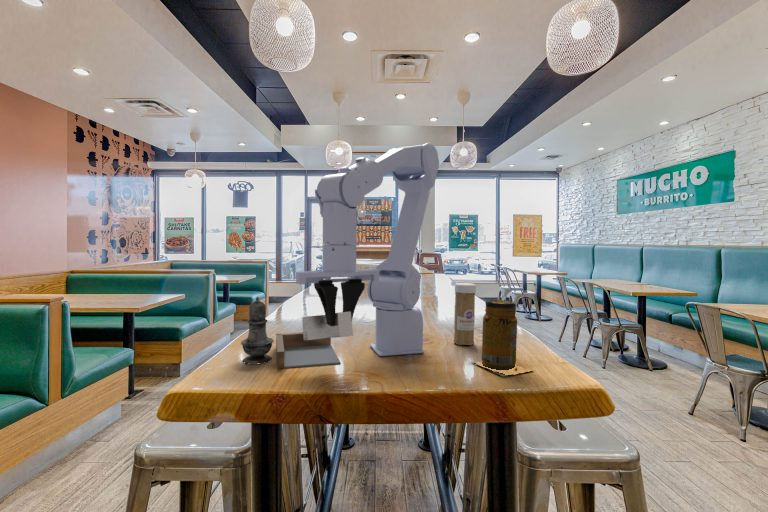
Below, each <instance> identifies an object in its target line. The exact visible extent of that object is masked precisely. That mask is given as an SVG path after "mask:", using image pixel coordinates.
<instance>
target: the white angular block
mask: <svg viewBox="0 0 768 512" xmlns="http://www.w3.org/2000/svg"><path fill="white" fill-rule="evenodd" d="M335 315H336V319H335V326H330V325H328V324H327V321H326V316H325V314H321V315H319V314H318V315H311V316H309V315H308V316H303V317H302V318H301V320H302V322H301V323H302V332H303V338H304V340H314V339H322V338H331V339H333V338H334V339H335V338H346V337H352V336H354V332H353V331H354V330H353V322H352V321H353V318H351V312H343V311H341V312H335Z"/></svg>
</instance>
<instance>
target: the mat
mask: <svg viewBox="0 0 768 512" xmlns="http://www.w3.org/2000/svg"><path fill="white" fill-rule="evenodd" d="M329 365H341V360H340V359H339V357H338V355H337V353H336V352H335V350H334V348H333V346H332V344H331V345H317V346H302V347H286V348H284V368H283V369H291V368H293V367H294V368H304V367H315V366H318V367H319V366H329Z"/></svg>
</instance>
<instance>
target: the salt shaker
mask: <svg viewBox="0 0 768 512" xmlns="http://www.w3.org/2000/svg"><path fill="white" fill-rule="evenodd" d="M248 310H249V311H248V313H249V315H248V316H249V317H248V318H249V319H248V320H247V323H248V336H247V338H245V339H243V340H241V341H240V344H241V345H242V350H243V352H244V353H245V354H246V355H247V356H246V357H244V358H243V359H242V363H243V362H245V363H250V364H249V365H251V364H256V365H258V364H257V363H264V362H267V363H269V362H268V361H270V360H271V361H272V360H273V358H272V356H270V355H269V354H268V353H269V352H270V351H271V349H272V347H273V343H274V342H275V341H274V340H275V339H274V338H271V337H269V336H268V334H267V322H268V319H266V304H265V303H264V301H261V300H260V297H258V296H256V297H255V300H254V301H253V302H252V303H250V304H249V307H248ZM271 361H270V362H271ZM245 363H244V364H245ZM264 364H265V363H264Z"/></svg>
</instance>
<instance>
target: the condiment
mask: <svg viewBox="0 0 768 512" xmlns="http://www.w3.org/2000/svg"><path fill="white" fill-rule="evenodd" d="M516 308H517V305H516V303H515V302H514V301H511V300H504V299H489V300H487V301H485V309H484V311H485V314H484V315H483V317H482V334H481V335H482V339H481V341H482V343H481V361H482V364H483V366H485V367H488V368H491V369H496V370H509V369H512V368H514V367H515V364H517V338H518V336H517V335H518V318H517V317H516ZM478 361H479V360H476V361H470V363H471V364H474V363H476V362H478ZM474 365H475V366H477V365H476V364H474ZM489 371H490V372H492V370H489ZM492 373H493V374H495V375H499V376H501V377H509V376H508V375H505V374H503V373H499V372H492Z"/></svg>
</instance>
